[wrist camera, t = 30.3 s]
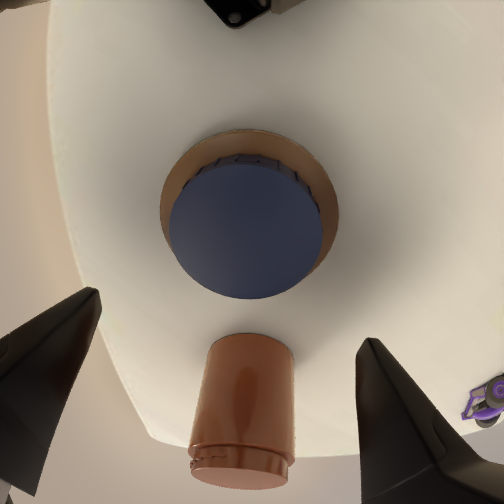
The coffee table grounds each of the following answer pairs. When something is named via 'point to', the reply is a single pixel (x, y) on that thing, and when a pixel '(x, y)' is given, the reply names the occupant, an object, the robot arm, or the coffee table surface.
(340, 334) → the coffee table surface
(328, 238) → the coaster
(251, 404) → the jar
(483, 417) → the toy race car
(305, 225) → the jar lid
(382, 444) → the robot arm
